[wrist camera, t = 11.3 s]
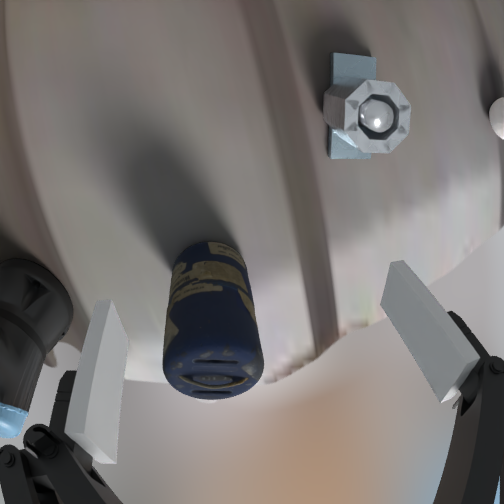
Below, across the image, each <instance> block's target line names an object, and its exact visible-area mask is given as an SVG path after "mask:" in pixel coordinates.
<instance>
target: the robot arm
mask: <svg viewBox="0 0 504 504" xmlns="http://www.w3.org/2000/svg"><path fill="white" fill-rule="evenodd" d="M380 305H381V306H382V308H383V309H384V311H385V313H386V314H387V316H388V317H389V318H390V320H391V322H392V323H393V325H394V326H395V328H396V330H397V331H398V333H399V334H400V336H401V338H402V339H403V341H404V343H405V344H406V346H407V347H408V349H409V351H410V352H411V354H412V356H413V357H414V359H415V361H416V362H417V364H418V366H419V367H420V369H421V371H422V372H423V374H424V376H425V377H426V379H427V381H428V382H429V384H430V386H431V388H432V390H433V391H434V393H435V395H436V397H437V398H438V400H439V402H440V403H442V402H444V401H446V400H448V399H450V398H453V397H454V395H455V394H456V392H457V391H458V390H460V392H461V396H460V397H459V399H458V400H457V401H456V402H455V404H454V405H453V407H452V408H453V409H455V407H456V406H457V405H458V409H457V415H456V420H455V425H454V430H453V435H452V440H451V443H450V448H449V452H448V456H447V460H446V463H445V467H444V471H443V474H442V477H441V481H440V484H439V487H438V490H437V494H436V497H435V500H434V502H433V504H494V500H495V495H496V491H497V486H498V482H499V476H500V504H504V361H503V360H502V359H501V358H499V357H497V356H490V355H489V354H488V353H487V351H486V350H485V349H484V347H483V346H482V344H481V343H480V342H479V341H478V339H477V338H476V337H475V335H474V334H473V333H472V332H471V330H470V329H469V327H467V325H466V324H465V322H464V321H463V320H462V318H461V317H460V316H458V315H457V314H455V313H454V312H453V311H449V312H446V311H445V309H444V308H443V307H442V306H441V305H440V303H439V302H438V301H437V299H436V298H435V297H434V296H433V295H432V294H431V292H430V291H429V290H428V289H427V287H426V286H425V285H424V284H423V283H422V281H421V280H420V279H419V278H418V277H417V275H416V274H415V273H414V272H413V271H412V270H411V268H410V267H409V266H408V265H407V264H406V263H405V262H404V260H401V261H396V262H391V263H390V268H389V272H388V276H387V281H386V285H385V289H384V293H383V296H382V300H381V304H380ZM72 319H73V306H72V302H71V300H70V297H69V295H68V293H67V292H66V290H65V288H64V287H63V286H62V284H61V283H60V282H59V281H58V280H57V279H56V278H55V277H54V276H53V275H52V274H51V273H50V272H48V271H47V270H46V269H44V268H43V267H41V266H39V265H37V264H35V263H33V262H31V261H28V260H24V259H9V260H6V261H4V262H3V263H1V264H0V437H2V438H14V437H16V436H18V435H19V434H20V432H21V430H22V427H23V424H24V421H25V419H26V417H27V416H28V412H29V408H30V404H31V401H32V398H33V394H34V391H35V388H36V385H37V381H38V378H39V375H40V372H41V369H42V366H43V363H44V360H45V358H46V355H47V354H48V353H49V352H50V351H51V350H52V349H53V347H54V346H55V345H56V344H57V343H58V341H59V340H61V339H62V338H63V337H64V336H65V335H66V333H67V331H68V329H69V327H70V324H71V322H72ZM128 346H129V339H128V337H127V335H126V333H125V330H124V328H123V326H122V323H121V321H120V319H119V316H118V314H117V311H116V309H115V306H114V304H113V301H112V299H111V300H101V301H97V302H96V305H95V308H94V311H93V315H92V318H91V321H90V325H89V328H88V331H87V335H86V338H85V342H84V346H83V349H82V353H81V357H80V361H79V366H78V369H77V371H66V372H65V374H64V375H63V377H62V378H61V379H60V382H59V386H58V390H57V394H56V398H55V402H54V406H53V411H52V415H51V420H50V425H49V427H48V426H46V425H44V424H35V425H33V426H31V427H30V428H29V429H28V430H27V431H26V433H25V435H24V439H23V444H24V448H25V449H22V450H18V449H17V448H16V447H15V446H13V445H4V446H3V447H1V448H0V484H1V488H2V493H3V497H4V501H5V504H123V503H122V502H121V501H120V500H119V499H118V497H117V496H116V495H115V494H114V492H113V491H112V490H111V489H110V487H109V486H108V485H107V484H106V483H105V481H104V480H103V479H102V477H101V476H100V475H99V474H98V472H97V471H96V469H95V468H94V467H93V466H92V459H93V458H94V459H95V460H96V461H97V462H98V463H108V464H116V463H117V445H118V431H119V419H120V408H121V399H122V390H123V382H124V374H125V366H126V359H127V352H128Z"/></svg>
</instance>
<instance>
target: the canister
mask: <svg viewBox="0 0 504 504" xmlns="http://www.w3.org/2000/svg"><path fill="white" fill-rule="evenodd" d="M263 369H264V358H263V353H262V348H261V344H260V338H259V333H258V327H257V322H256V317H255V308H254V302H253V297H252V291H251V286H250V282H249V278H248V273H247V267H246V264H245V262H244V260H243V258H242V257H241V256H240V255H239V254H238V253H237V252H236V251H235V250H234V249H233V248H231V247H229V246H227V245H225V244H223V243H218V242H202V243H198V244H195V245H193V246H191V247H189V248H187V249H186V250H185V251H183V252H182V253H181V254H180V255H179V257H178V258H177V260H176V262H175V264H174V267H173V272H172V278H171V286H170V295H169V303H168V308H167V315H166V325H165V335H164V348H163V371H164V375H165V377H166V379H167V380H168V382H169V383H170V384H171V386H173V387H174V388H175V389H176V390H178V391H179V392H181V393H183V394H185V395H188V396H191V397H194V398H199V399H208V400H215V399H225V398H229V397H233V396H236V395H239V394H242V393H244V392H246V391H247V390H249V389H250V388H252V387H253V386H254V385H255V384H256V383H257V382H258V381H259V379H260V378H261V376H262V373H263Z"/></svg>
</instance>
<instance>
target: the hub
mask: <svg viewBox="0 0 504 504" xmlns="http://www.w3.org/2000/svg"><path fill="white" fill-rule="evenodd" d="M368 97H369V98H371V99H375V100H378V101H382V102H385V103H387V104H388V105H389V106H390V107H391V109H392V111H393V116H394V117H393V123H392V125H391V126H390V128H389V129H388V130H386V131H384V132H375V131H373V130H371V129H369V128H367V127H365V126H363V125H362V126H361V127H358V108H359V105H361V104H362V103H363V102H364V101H365V100H366V99H367V98H368ZM410 113H411V105H410V104H409V102H408V101H407V99H406V98H405V97H404V95H403V94H402V93H401V91H400V90H399V88H398V87H397V86H396V84H395V83H392V82H386V81H381V80H375V79H368V78H359V77H349V76H342V77H340V78H339V79H338V80H337V81H336V82H335V83H334V84H333V85H332V86H331V87H330V88H329V89H328V90H327V91H326V92H325V93H324V106H323V120H324V121H325V122H326V123H327V124H328V125H329V126H330V127H331V128H332V129H333V130H334V131H335V133H336V134H337V135H338V136H339V137H340V138H341V139H343V140H345V141H346V142H348V143H349V144H351V145H352V146H354V147H355V148H357V149H358V150H360V151H361V152H363V153H390V152H391V151H392V150H393V149H394V148H395V147H396V146H397V145H398V144H399V143H400V142H401V141H402V140H403V139H404V138H405V137H406V136H407V135H408V134H409V125H410Z"/></svg>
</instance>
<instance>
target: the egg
mask: <svg viewBox="0 0 504 504" xmlns="http://www.w3.org/2000/svg"><path fill="white" fill-rule="evenodd" d="M489 119H490V123H491V126H492V128H493V130H494V131H495V132H496V134H497V135H498V136H500V137H501V138H502V139H504V97H502V98H499V99H497V100H496V101H495V102H494V103H493V104H492V105H491V108H490V111H489Z"/></svg>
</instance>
